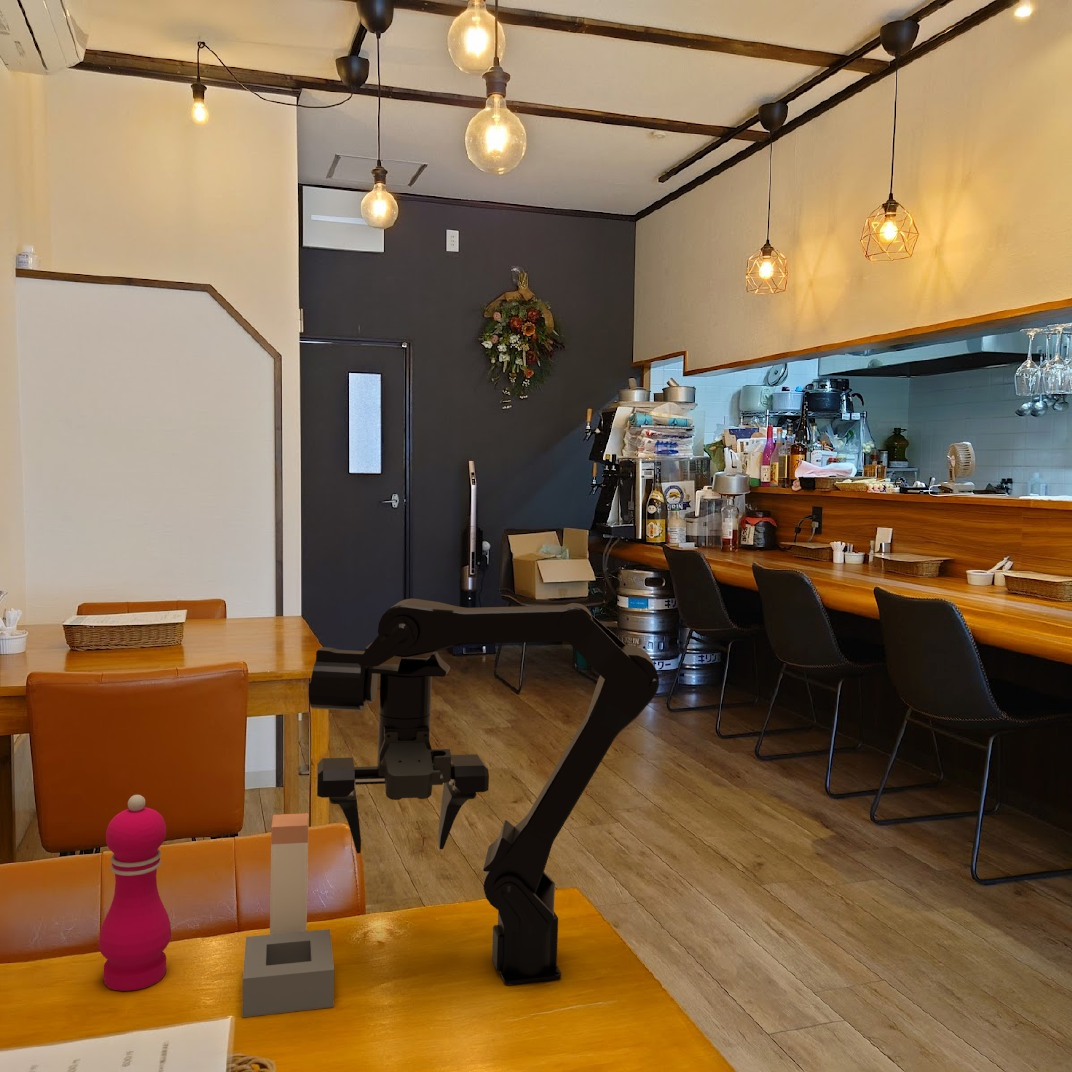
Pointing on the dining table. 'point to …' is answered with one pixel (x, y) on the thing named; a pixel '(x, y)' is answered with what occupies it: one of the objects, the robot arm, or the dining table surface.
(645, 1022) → the dining table surface
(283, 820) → the plug
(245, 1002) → the socket block
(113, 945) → the pepper mill
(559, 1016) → the dining table surface
